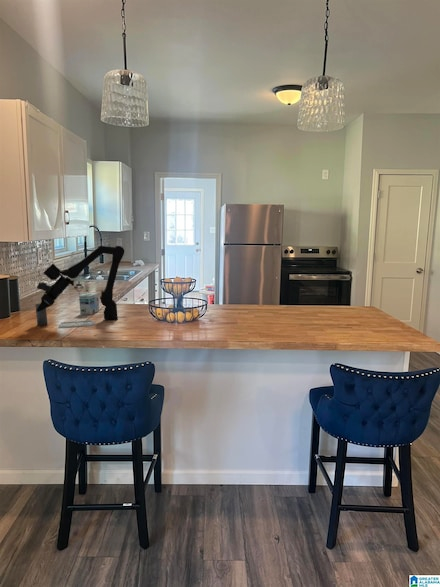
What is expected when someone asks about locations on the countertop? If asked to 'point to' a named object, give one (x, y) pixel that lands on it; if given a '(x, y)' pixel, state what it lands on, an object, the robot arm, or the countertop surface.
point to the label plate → (76, 324)
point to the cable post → (41, 316)
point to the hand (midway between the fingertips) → (38, 309)
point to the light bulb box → (89, 303)
